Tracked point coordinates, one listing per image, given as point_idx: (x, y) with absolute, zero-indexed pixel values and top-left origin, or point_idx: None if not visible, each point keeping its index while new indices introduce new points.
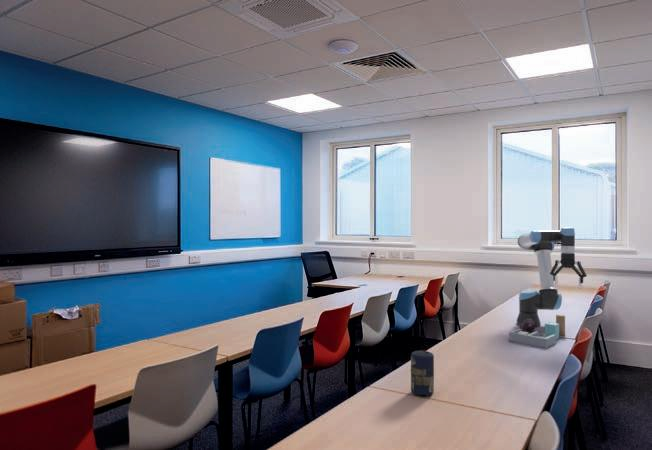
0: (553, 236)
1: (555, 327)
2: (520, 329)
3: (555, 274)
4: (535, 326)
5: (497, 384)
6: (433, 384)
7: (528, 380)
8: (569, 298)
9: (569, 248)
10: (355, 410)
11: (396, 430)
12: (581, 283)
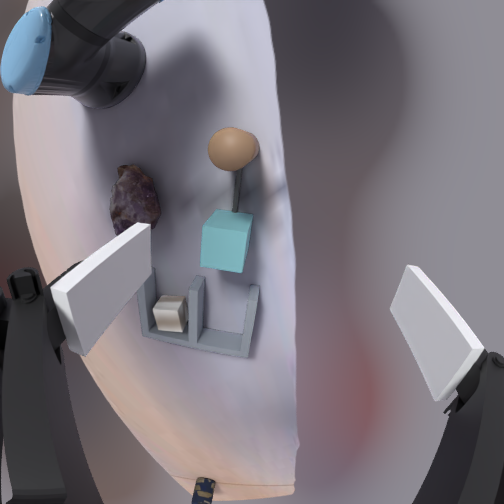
0: None
1: (243, 266)
2: (143, 287)
3: (62, 368)
4: (159, 216)
5: (247, 466)
6: (213, 487)
7: (271, 457)
8: None
9: None
10: None
11: (229, 496)
12: (443, 298)
